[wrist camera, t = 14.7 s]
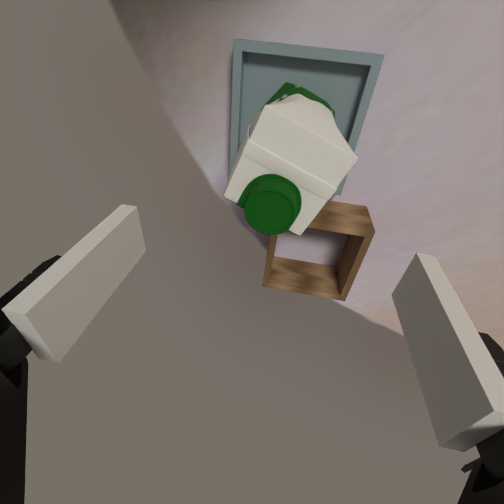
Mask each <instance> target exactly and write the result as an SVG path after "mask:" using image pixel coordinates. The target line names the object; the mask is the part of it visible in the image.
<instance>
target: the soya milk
mask: <svg viewBox="0 0 504 504" xmlns="http://www.w3.org/2000/svg"><path fill="white" fill-rule="evenodd" d="M250 125H251V126H250ZM250 125H249V127H250V128H249V127H248V129H247V131H246V134H245V136H244V139H243V141H242V143H241V146H240V148H239V151H238V153H237V156H236V159H235V161H234V164H233V166H232V169H231V173H230V176H229V179H228V182H227V185H226V189H225V192H224V197H225V198H227V199H229V200H231V201H234V202H236V203H237V205H238V206H240V207H242V208H244V213H245V217H246V220H247V222H248V223H249V225H250V226H251V227H252V228H254V229H255V230H256V231H258V232H260V233H263V234H268V235H275V234H280V233H283V232H285V231H286V230H287V231H288V230H290V231H292V232H293V233H295V234H297V235H301V234H302V233H303V232H304V231H305V229H306V228H307V227H308V226H309V224H310V223H311V222H312V220H313V219H314V218H315V217H316V215H317V214H318V213H319V211H320V210H321V209H322V208H323V206H324V205H325V204H326V202H327V201H328V200H329V199H330V198H331V197H332V195H333V194H334V193H335V191H336V190H337V188H338V186H339V184H340V182H341V181H342V180H343V178H344V177H345V176H346V174H347V173H348V172H349V170H350V169H351V168H352V166H353V165H354V164H355V162H356V161H357V160H358V158H357V156H356V155H355V154H354V152H353V151H352V149H351V148H350V146H349V145H348V143H347V142H346V140H345V139H344V137H343V135H342V134H341V132H340V131H339V129H338V128H337V126H336V123H335V111H334V110H333V108H332V107H331V106H330V105H329V103H328V102H326V101H325V100H323V99H322V98H320V97H318V96H317V95H315V94H313V93H312V92H310V91H308V90H307V89H305V88H303V87H301V86H298V85H294V84H291V83H288V82H285V83H284V85H283V86H282V87H281V88H280V89H279V90H278V91H277V92H276V93H275V94H274V95H273V96H272V97H271V98H270V99H269V101H268V102H267V103H266V104H265V105H264V106H263V108H262V109H261V110H260V112H259V113H258V114H257V116H256V117H255V119H254V120H253V122H252V124H250Z"/></svg>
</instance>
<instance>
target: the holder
mask: <svg viewBox="0 0 504 504" xmlns="http://www.w3.org/2000/svg"><path fill="white" fill-rule="evenodd" d="M308 228H314V229H320V230H326V231H332V232H338V233H344V234H349V237H348V239H347V242H346V245H345V247H344V250H343V253H342V255H341V258H340V261H339V264H338V266H337V267H332V266H326V265H321V264H315V263H309V262H303V261H298V260H292V259H286V258H280V257H274V252H275V246H276V240H277V234H275V235H270V239H269V246H268V252H267V259H266V265H265V273H264V279H263V286H266V287H271V288H277V289H282V290H287V291H293V292H299V293H304V294H309V295H314V296H320V297H325V298H331V299H336V300H342V301H345V300H346V297H347V295H348V293H349V290H350V288H351V286H352V284H353V281H354V279H355V277H356V274H357V272H358V270H359V268H360V265H361V263H362V261H363V259H364V256H365V254H366V252H367V249H368V247H369V245H370V243H371V240H372V238H373V236H374V233H375V230H374V227H373V224H372V221H371V218H370V215H369V212H368V209H367V207H366V206H359V205H353V204H346V203H340V202H333V201H327V202H326V204H325V205H324V206H323V208H322V209H321V210H320V211H319V213H318V214H317V215H316V217H315V218H314V219H313V220H312V222H311V223H310V224H309V226H308Z"/></svg>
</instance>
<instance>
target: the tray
mask: <svg viewBox="0 0 504 504" xmlns="http://www.w3.org/2000/svg"><path fill="white" fill-rule="evenodd" d="M383 58H384V55H381V54H373V53H363V52H354V51H345V50H336V49H327V48H317V47H308V46H299V45H290V44H281V43H271V42H262V41H253V40H244V39H234V45H233V75H232V105H231V135H230V165H229V176H230V173H231V169H232V166H233V164H234V161H235V159H236V156H237V153H238V151H239V148H240V146H241V143H242V141H243V139H244V136H245V134H246V131H247V129H248V127H249V125H250V124H252V122H253V120H254V119H255V117H256V116H257V114H258V113H259V112H260V110H261V109H262V108H263V106H264V105H265V104H266V103H267V102H268V101H269V99H270V98H271V97H272V96H273V95H274V94H275V93H276V92H277V91H278V90H279V89H280V88H281V87H282V86H283V85H284V83H285V82H288V83H291V84H294V85H298V86H301V87H303V88H305V89H307V90H308V91H310V92H312V93H313V94H315V95H317V96H318V97H320V98H322V99H323V100H325V101H326V102H328V103H329V105H330V106H331V107H332V108H333V110H334V111H335V123H336V126H337V128H338V129H339V131H340V132H341V134H342V135H343V137H344V139H345V140H346V142H347V143H348V145H349V146H350V148H351V149H352V151H353V152H354V151H355V148H356V145H357V141H358V138H359V135H360V132H361V129H362V125H363V122H364V119H365V116H366V113H367V109H368V106H369V103H370V100H371V97H372V93H373V90H374V87H375V84H376V81H377V77H378V74H379V71H380V68H381V65H382V61H383ZM250 126H251V125H250ZM249 128H250V127H249ZM346 177H347V174H346V176H345V177H344V178H343V180H342V181H341V182H340V184H339V186H338V188H337V190H336V191H335V193H334V195H340V196H341V193H342V189H343V186H344V183H345V180H346Z"/></svg>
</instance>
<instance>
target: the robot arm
mask: <svg viewBox="0 0 504 504" xmlns="http://www.w3.org/2000/svg"><path fill="white" fill-rule="evenodd" d="M145 252H146V249H145V244H144V239H143V234H142V230H141V225H140V220H139V215H138V210H137V207H135V206H130V205H124V204H122V205H121V206H119V207H118V208H117V209H116V210H115V211H114V212H113V213H111V214H110V215H109V216H108V217H107V218H106V219H104V220H103V221H102V222H101V223H100V224H99V225H98V226H96V227H95V228H94V229H93V230H92V231H91V232H90V233H88V234H87V235H86V236H85V237H84V238H83V239H82V240H80V241H79V242H78V243H77V244H76V245H75V246H74V247H73V248H71V249H70V250H69V251H68V252H67V253H66V254H64V255H63V256H58V255H57V256H55V257H53V258H51V259H49V260H47V261H45V262H43V263H42V264H41V265H39V266H38V267H37V268H36V269H34V270H33V271H32V273H31V274H28V275H27V276H26V277H25V278H24V279H23V281H20V282H19V283H18V284H17V285H15V286H14V287H13V288H12V289H11V290H10V291H8V292H7V293H6V294H4V295H3V296H2V297H1V298H0V504H24V495H25V459H26V458H25V456H26V424H27V387H28V361H27V358H26V356H27V355H28V354H29V353H30V352H31V350H33V351H34V353H35V354H36V355H37V357H38V358H39V359H43V360H47V361H52V362H56V363H59V362H60V361H61V359H62V358H63V357H64V356H65V354H66V353H67V352H68V350H69V349H70V348H71V347H72V345H73V344H74V343H75V341H76V340H77V339H78V338H79V336H80V335H81V333H83V331H84V330H85V328H86V327H87V326H88V325H89V323H90V322H91V321H92V320H93V318H94V317H95V316H96V314H97V313H98V312H99V310H100V309H101V308H102V307H103V305H104V304H105V303H106V302H107V300H108V299H109V298H110V297H111V295H112V294H113V293H114V291H115V290H116V289H117V287H118V286H119V285H120V284H121V282H122V281H123V280H124V279H125V277H126V276H127V275H128V273H129V272H130V271H131V269H132V268H133V267H134V266H135V265H136V263H137V262H138V261H139V259H140V258H141V257H142V255H143V254H144V253H145ZM392 298H393V301H394V304H395V307H396V310H397V314H398V317H399V320H400V323H401V326H402V330H403V333H404V336H405V339H406V342H407V345H408V349H409V352H410V355H411V358H412V361H413V365H414V368H415V371H416V374H417V377H418V380H419V384H420V387H421V390H422V393H423V396H424V400H425V403H426V406H427V409H428V413H429V416H430V419H431V422H432V425H433V429H434V432H435V435H436V438H437V441H438V445H439V447H444V448H448V449H453V450H458V451H462V452H465V451H467V450H469V449H470V448H472V447H474V446H477V449H478V452H479V454H480V458H478V459H476V460H474V461H472V462H470V463H468V464H466V465H465V466H463V468H462V469H461V470H462V471H463V472H464V473H465V472H467V471H469V470H471V469H472V471H471V473H470V475H469V478H468V480H467V482H466V485H465V487H464V489H463V492H462V494H461V497H460V499H459V501H458V504H504V351H503V349H502V348H501V347H500V346H499V345H498V344H497V343H496V342H495V341H494V340H493V339H492V338H491V337H490V336H489V335H488V334H485V333H480V332H477V330H476V328H475V326H474V325H473V323H472V321H471V319H470V318H469V316H468V314H467V312H466V311H465V309H464V307H463V305H462V304H461V302H460V300H459V298H458V296H457V295H456V293H455V291H454V289H453V288H452V286H451V284H450V282H449V281H448V279H447V277H446V275H445V274H444V272H443V270H442V268H441V266H440V265H439V263H438V261H437V259H436V258H435V256H433V255H427V254H421V253H416V255H415V256H414V258H413V260H412V261H411V263H410V265H409V266H408V268H407V270H406V271H405V273H404V275H403V276H402V278H401V280H400V282H399V283H398V285H397V287H396V288H395V290H394V292H393V293H392Z"/></svg>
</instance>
